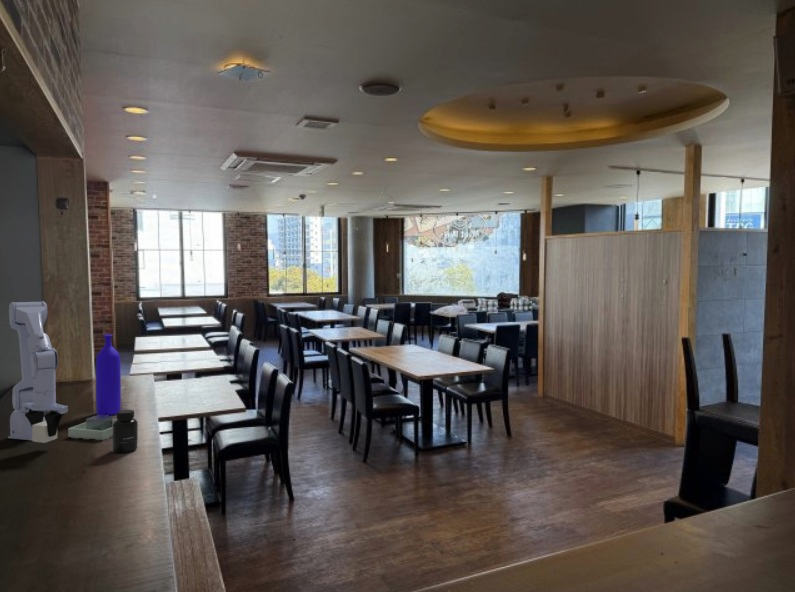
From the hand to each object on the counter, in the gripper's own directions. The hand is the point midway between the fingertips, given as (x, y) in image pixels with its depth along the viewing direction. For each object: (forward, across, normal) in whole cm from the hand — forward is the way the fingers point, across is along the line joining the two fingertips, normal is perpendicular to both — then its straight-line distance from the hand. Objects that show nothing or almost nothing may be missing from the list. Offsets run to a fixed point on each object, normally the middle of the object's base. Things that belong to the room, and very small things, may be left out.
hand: (45, 435), depth 167 cm
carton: (+2, 0, 0) cm, 2 cm away
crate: (+5, +4, +18) cm, 19 cm away
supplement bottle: (+5, +23, +6) cm, 24 cm away
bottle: (+5, -12, +41) cm, 43 cm away
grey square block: (+4, +4, +18) cm, 19 cm away
